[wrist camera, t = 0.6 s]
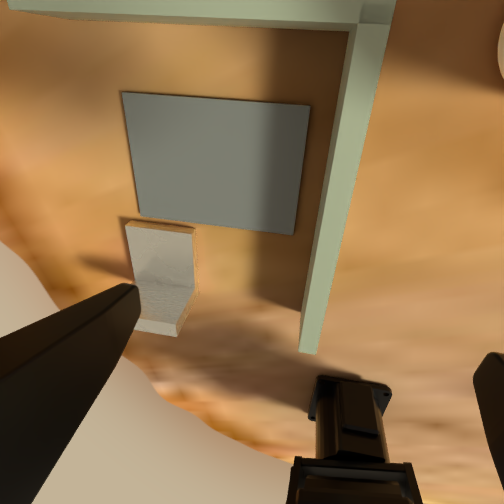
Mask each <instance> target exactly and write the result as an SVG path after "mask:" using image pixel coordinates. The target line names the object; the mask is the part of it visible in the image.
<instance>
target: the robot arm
mask: <svg viewBox="0 0 504 504" xmlns="http://www.w3.org/2000/svg"><path fill="white" fill-rule="evenodd" d="M140 314H141V302H140V294H139V288H138V287H137V286H136V285H133V284H128V283H121V284H119V285H116V286H114V287H112V288H110V289H108V290H105V291H103V292H101V293H99V294H96V295H94V296H92V297H90V298H88V299H85V300H83V301H81V302H79V303H77V304H74V305H72V306H70V307H68V308H65V309H63V310H61V311H59V312H57V313H54V314H52V315H50V316H48V317H46V318H43V319H41V320H39V321H37V322H35V323H32V324H30V325H28V326H26V327H23V328H21V329H19V330H17V331H15V332H12V333H10V334H8V335H6V336H3V337H1V338H0V504H31V503H32V502H33V500H34V499H35V497H36V495H37V494H38V492H39V490H40V489H41V487H42V485H43V484H44V482H45V481H46V479H47V477H48V476H49V474H50V472H51V471H52V469H53V468H54V466H55V464H56V463H57V461H58V459H59V458H60V456H61V455H62V453H63V451H64V450H65V448H66V446H67V445H68V443H69V442H70V440H71V438H72V437H73V435H74V433H75V432H76V430H77V429H78V427H79V425H80V424H81V422H82V421H83V419H84V417H85V416H86V414H87V412H88V411H89V409H90V408H91V406H92V404H93V403H94V401H95V399H96V398H97V396H98V395H99V393H100V391H101V390H102V388H103V386H104V385H105V383H106V382H107V380H108V378H109V377H110V375H111V373H112V372H113V370H114V368H115V367H116V365H117V363H118V361H119V359H120V357H121V355H122V353H123V351H124V349H125V346H126V344H127V342H128V340H129V338H130V336H131V334H132V332H133V330H134V328H135V325H136V323H137V321H138V319H139V317H140ZM473 385H474V389H475V393H476V397H477V401H478V405H479V410H480V414H481V418H482V422H483V426H484V430H485V435H486V438H487V442H488V446H489V449H490V452H491V455H492V458H493V461H494V464H495V467H496V470H497V473H498V476H499V478H500V481H501V484H502V487H503V490H504V354H503V353H498V352H490V353H488V354H487V355H486V357H485V358H484V359H483V361H482V362H481V364H480V365H479V367H478V368H477V370H476V371H475V373H474V376H473ZM391 397H392V391H391V389H390V388H389V387H385V386H379V385H374V384H368V383H362V382H357V381H351V380H346V379H340V378H334V377H329V376H323V375H320V376H318V377H317V378H316V382H315V386H314V390H313V394H312V398H311V402H310V407H309V411H308V419H309V420H311V421H316V459H315V458H302V456H295V459H294V466H292V468H291V472H290V482H289V488H288V495H287V501H286V504H423V502H422V499H421V495H420V492H419V488H418V485H417V481H416V478H415V474H414V471H413V467H412V464H411V463H408V462H403V464H401V463H390V460H389V454H388V449H387V443H386V438H385V432H384V427H383V421H382V416H383V414H384V412H385V410H386V407H387V405H388V403H389V401H390V399H391Z"/></svg>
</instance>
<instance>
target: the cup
mask: <svg viewBox="0 0 504 504" xmlns="http://www.w3.org/2000/svg"><path fill="white" fill-rule="evenodd" d="M498 63H499V68H500V72H501V75H502V77H503V78H504V23H503V26H502V28H501V32H500V37H499V42H498Z"/></svg>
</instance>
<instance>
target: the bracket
mask: <svg viewBox="0 0 504 504" xmlns="http://www.w3.org/2000/svg"><path fill="white" fill-rule="evenodd" d="M125 229H126V234H127V239H128V245H129V250H130V255H131V261H132V266H133V272H134V277H135V280H134V281H133V282H132V283H131V284H133V285H136V286H137V287H138V288H139V294H140V302H141V314H140V317H139V319H138V321H137V323H136V325H135V328H134V330H139V331H144V332H150V333H156V334H162V335H167V336H173V337H177V336H178V334H179V332H180V330H181V328H182V326H183V324H184V322H185V320H186V318H187V316H188V314H189V312H190V310H191V308H192V306H193V305H194V303H195V301H196V299H197V297H198V295H199V275H198V256H197V237H196V228H190V227H183V226H175V225H167V224H159V223H151V222H143V221H135V220H131V221H130V222H129V223H127V224H126V225H125Z"/></svg>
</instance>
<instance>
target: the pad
mask: <svg viewBox="0 0 504 504" xmlns="http://www.w3.org/2000/svg"><path fill="white" fill-rule="evenodd" d="M122 98H123V104H124V111H125V117H126V124H127V130H128V137H129V143H130V150H131V156H132V163H133V169H134V176H135V182H136V189H137V195H138V202H139V208H140V215H141V216H143V217H151V218H159V219H167V220H175V221H183V222H191V223H199V224H207V225H215V226H223V227H231V228H239V229H247V230H255V231H263V232H271V233H279V234H287V235H293V233H294V226H295V218H296V211H297V203H298V196H299V188H300V180H301V173H302V165H303V158H304V150H305V143H306V135H307V128H308V120H309V112H310V105H296V104H282V103H269V102H255V101H241V100H228V99H214V98H200V97H187V96H173V95H159V94H146V93H132V92H122Z"/></svg>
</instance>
